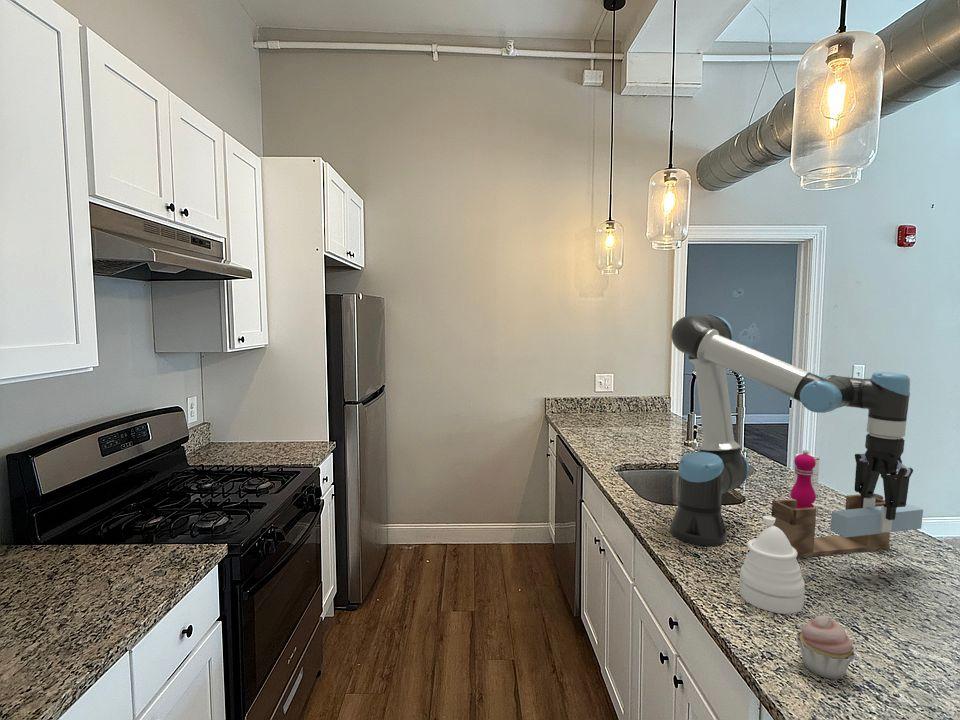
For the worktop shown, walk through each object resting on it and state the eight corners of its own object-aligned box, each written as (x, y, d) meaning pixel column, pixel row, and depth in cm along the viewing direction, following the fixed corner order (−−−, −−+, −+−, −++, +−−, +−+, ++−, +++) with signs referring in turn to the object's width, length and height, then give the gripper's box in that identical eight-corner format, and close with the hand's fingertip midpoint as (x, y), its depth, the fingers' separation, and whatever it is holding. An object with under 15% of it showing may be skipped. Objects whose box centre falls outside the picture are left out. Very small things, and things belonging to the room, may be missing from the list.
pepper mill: (790, 510, 173) (793, 451, 172) (789, 503, 180) (792, 446, 178) (816, 514, 170) (819, 453, 168) (814, 507, 176) (817, 448, 175)
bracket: (791, 558, 139) (793, 510, 138) (769, 545, 146) (771, 500, 145) (889, 549, 144) (892, 503, 143) (863, 537, 152) (866, 493, 151)
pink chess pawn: (792, 493, 190) (794, 454, 189) (802, 491, 193) (804, 452, 191) (808, 498, 185) (810, 458, 184) (818, 495, 188) (820, 456, 186)
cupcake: (848, 694, 89) (852, 638, 88) (787, 667, 95) (790, 615, 95) (861, 669, 95) (864, 616, 94) (802, 645, 102) (805, 596, 101)
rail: (845, 537, 126) (846, 517, 126) (830, 530, 130) (832, 511, 130) (921, 528, 132) (923, 509, 132) (904, 522, 136) (906, 503, 136)
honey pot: (728, 584, 125) (731, 511, 124) (779, 582, 126) (783, 510, 125) (760, 614, 112) (764, 533, 111) (817, 612, 113) (822, 532, 112)
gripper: (934, 444, 121) (923, 541, 123) (866, 427, 138) (858, 512, 140) (907, 445, 120) (896, 543, 122) (842, 427, 136) (834, 514, 139)
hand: (876, 526), depth 131 cm, fingers closed on rail, 4 cm apart
